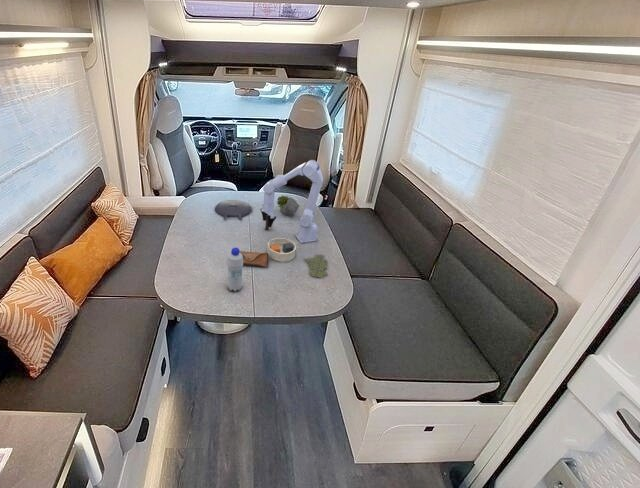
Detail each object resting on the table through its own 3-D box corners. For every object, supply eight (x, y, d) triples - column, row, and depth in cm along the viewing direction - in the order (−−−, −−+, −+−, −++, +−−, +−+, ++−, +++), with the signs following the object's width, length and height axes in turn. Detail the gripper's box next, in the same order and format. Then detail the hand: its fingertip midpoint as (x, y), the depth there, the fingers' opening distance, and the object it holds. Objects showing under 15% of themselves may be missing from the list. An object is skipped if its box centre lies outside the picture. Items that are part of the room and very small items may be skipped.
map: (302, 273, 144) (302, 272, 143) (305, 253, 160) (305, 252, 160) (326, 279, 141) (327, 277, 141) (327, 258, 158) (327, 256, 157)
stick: (267, 228, 182) (268, 214, 178) (269, 230, 180) (270, 216, 177) (264, 228, 181) (265, 215, 178) (265, 230, 180) (266, 216, 176)
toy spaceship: (252, 222, 188) (252, 217, 187) (212, 220, 188) (212, 215, 187) (251, 201, 214) (251, 197, 213) (216, 200, 214) (216, 196, 213)
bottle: (226, 282, 137) (226, 244, 130) (241, 282, 138) (242, 243, 130) (227, 293, 131) (227, 253, 123) (243, 292, 132) (244, 253, 124)
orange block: (276, 251, 160) (277, 244, 158) (279, 255, 156) (280, 248, 155) (269, 252, 159) (269, 245, 157) (272, 256, 155) (272, 250, 154)
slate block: (289, 249, 162) (290, 242, 160) (292, 253, 158) (293, 246, 157) (282, 250, 161) (283, 243, 159) (285, 254, 157) (286, 248, 156)
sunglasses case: (230, 265, 148) (231, 250, 149) (231, 263, 155) (232, 249, 156) (268, 267, 147) (269, 253, 148) (267, 266, 154) (268, 252, 155)
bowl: (288, 244, 167) (288, 236, 165) (299, 259, 154) (300, 251, 153) (263, 247, 163) (263, 239, 161) (273, 264, 151) (273, 255, 149)
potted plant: (289, 216, 189) (269, 203, 195) (292, 221, 200) (273, 209, 206) (300, 200, 190) (280, 188, 196) (302, 205, 202) (283, 194, 208)
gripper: (257, 197, 179) (256, 218, 185) (266, 208, 166) (265, 230, 172) (269, 196, 181) (267, 217, 186) (278, 207, 168) (276, 229, 174)
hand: (267, 223), depth 179 cm, fingers open, 7 cm apart
